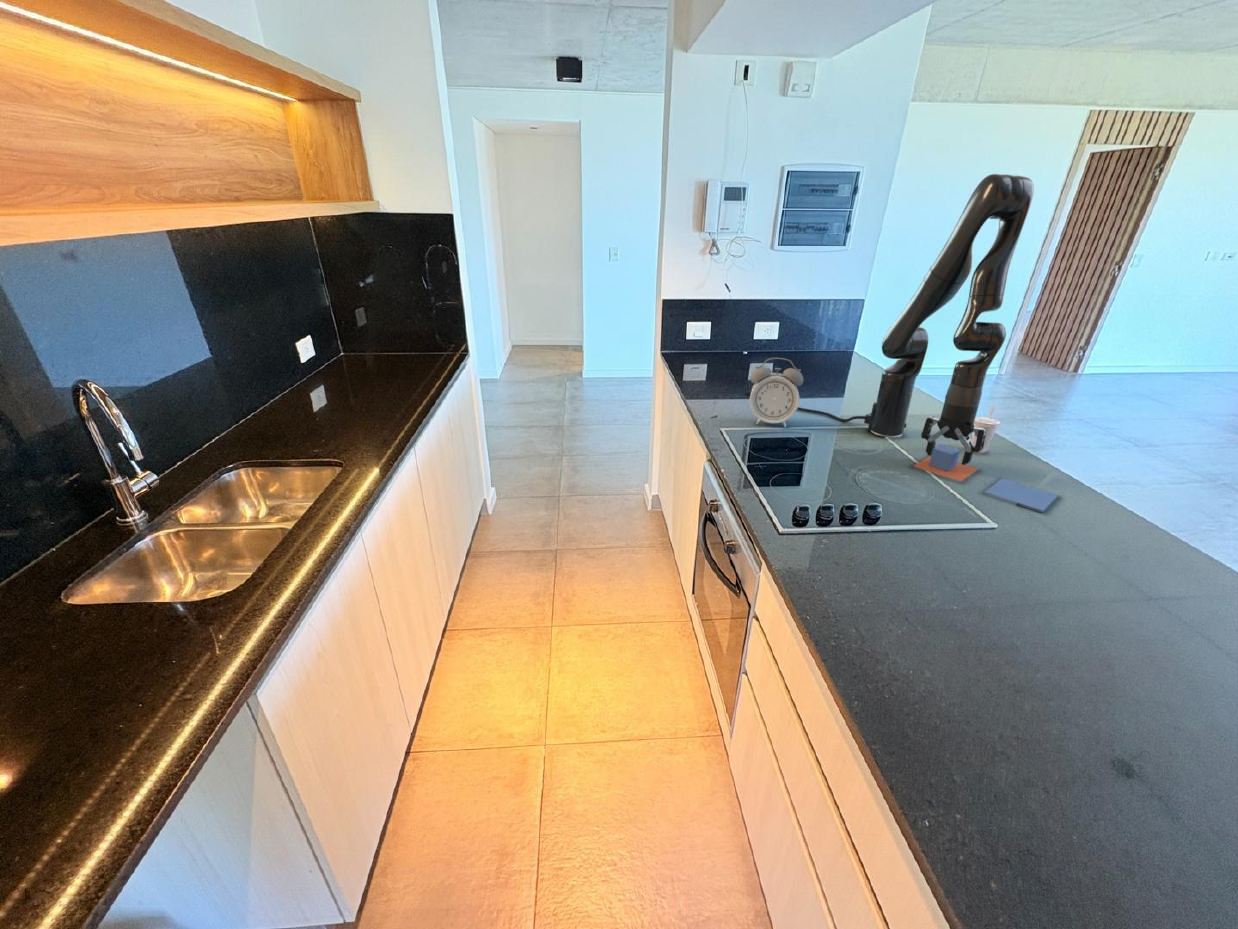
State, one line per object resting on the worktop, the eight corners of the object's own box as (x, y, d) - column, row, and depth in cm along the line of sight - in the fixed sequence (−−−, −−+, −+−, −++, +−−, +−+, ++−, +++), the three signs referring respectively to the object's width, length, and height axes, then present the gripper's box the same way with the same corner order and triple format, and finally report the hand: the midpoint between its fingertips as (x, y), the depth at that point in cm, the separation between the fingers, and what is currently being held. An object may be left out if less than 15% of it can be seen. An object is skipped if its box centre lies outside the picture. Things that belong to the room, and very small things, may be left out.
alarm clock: (745, 425, 174) (751, 359, 165) (746, 416, 182) (753, 353, 172) (797, 429, 170) (807, 362, 161) (796, 421, 178) (806, 356, 168)
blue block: (928, 465, 144) (932, 448, 141) (936, 460, 146) (940, 444, 144) (948, 471, 140) (952, 454, 138) (955, 466, 143) (960, 449, 141)
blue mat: (983, 494, 130) (984, 491, 129) (1001, 480, 137) (1001, 478, 136) (1042, 512, 121) (1043, 510, 121) (1057, 497, 128) (1058, 494, 128)
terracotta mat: (912, 468, 144) (913, 466, 143) (931, 456, 150) (932, 454, 150) (960, 483, 135) (961, 481, 135) (978, 470, 142) (979, 468, 142)
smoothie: (994, 456, 150) (1009, 410, 144) (969, 455, 151) (983, 408, 145) (985, 448, 156) (999, 402, 150) (961, 446, 157) (974, 401, 151)
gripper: (998, 404, 133) (981, 463, 139) (938, 392, 143) (924, 448, 149) (988, 410, 128) (970, 471, 135) (926, 398, 138) (913, 455, 145)
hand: (946, 459), depth 142 cm, fingers open, 8 cm apart
